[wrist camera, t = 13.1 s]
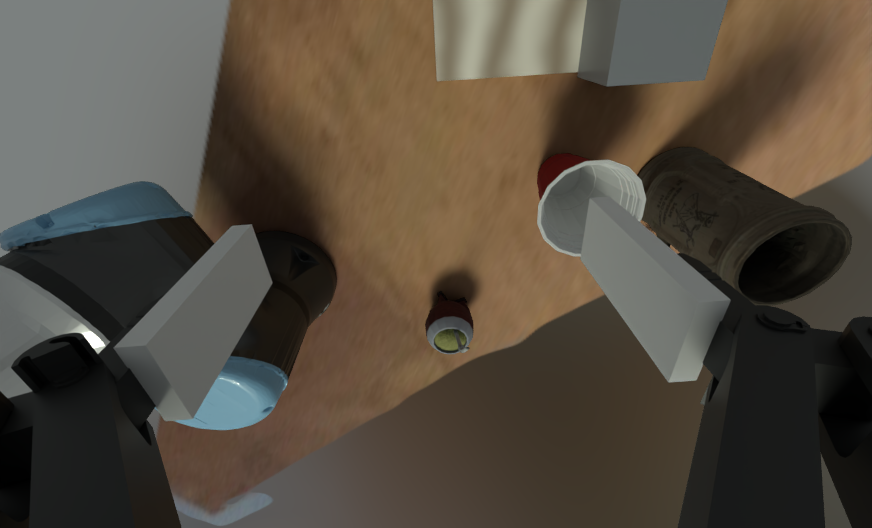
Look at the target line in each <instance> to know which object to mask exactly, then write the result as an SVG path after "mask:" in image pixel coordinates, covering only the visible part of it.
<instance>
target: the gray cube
mask: <svg viewBox="0 0 872 528" xmlns="http://www.w3.org/2000/svg"><path fill="white" fill-rule="evenodd" d="M727 1H728V0H587V5H586V13H585V20H584V28H583V36H582V44H581V51H580V59H579V67H578V75H577V77H578V78H582V79H585V80H588V81H591V82H594V83H597V84H600V85H604V86H621V85H637V84H652V83H668V82H683V81H699V80H705V77H706V73H707V70H708V67H709V63H710V60H711V56H712V53H713V49H714V46H715V43H716V39H717V36H718V32H719V29H720V25H721V22H722V19H723V15H724V12H725V8H726V5H727Z"/></svg>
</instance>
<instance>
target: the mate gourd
mask: <svg viewBox="0 0 872 528" xmlns="http://www.w3.org/2000/svg"><path fill="white" fill-rule="evenodd" d="M438 297H439V300H438V304H437V305H436V306H434V307H433V308H432V310H431V311H430V313H429V315H428V318H427V320H426V324H425V326H426V336H427V339H428V341H429V342H430V344H431V345H432V347H433V348H435V349H436V350H438V351H439V352H441V353H445V354H455V353H458V352H461V353H464V352H466V351H467V350H468V349H469V347H467V346H468V345H469V343H470V341H471V340H472V338H473V320H472V317H471V313H470V310H469V308H468V306H467V305H466V302H467V301H466V299H465V298H461V299H459V300H456V301H448V300H447V299H446V297H445V295H444V294H443V292H442V291H440V292H438Z"/></svg>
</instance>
